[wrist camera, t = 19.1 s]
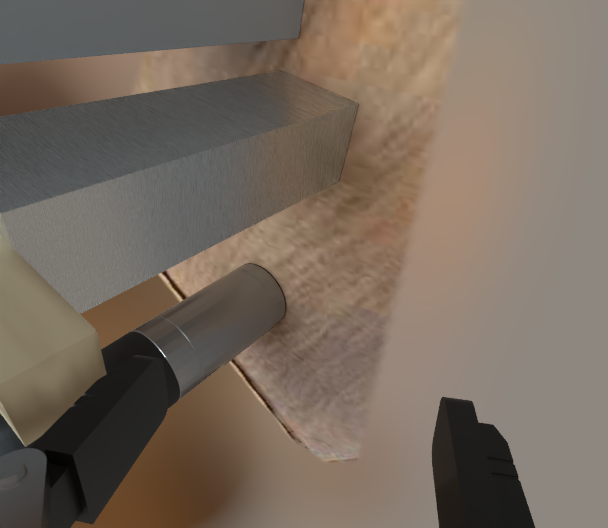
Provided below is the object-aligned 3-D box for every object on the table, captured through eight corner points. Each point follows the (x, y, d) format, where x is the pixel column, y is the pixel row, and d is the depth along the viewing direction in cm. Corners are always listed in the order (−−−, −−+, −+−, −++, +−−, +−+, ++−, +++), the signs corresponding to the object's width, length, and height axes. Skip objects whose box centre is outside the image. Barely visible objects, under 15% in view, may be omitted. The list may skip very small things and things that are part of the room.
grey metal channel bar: (338, 181, 40) (-21, 365, 20) (271, 145, 44) (-94, 270, 23) (358, 103, 36) (-91, 241, 15) (281, 70, 39) (-169, 144, 18)
